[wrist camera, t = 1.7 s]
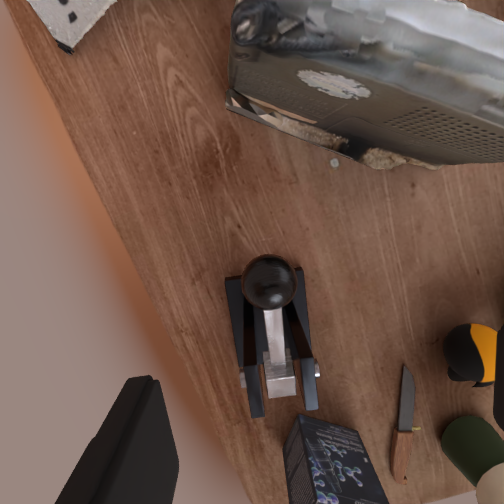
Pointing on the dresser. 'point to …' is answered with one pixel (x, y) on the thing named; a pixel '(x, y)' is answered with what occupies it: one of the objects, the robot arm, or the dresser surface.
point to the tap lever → (273, 317)
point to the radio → (373, 78)
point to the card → (69, 18)
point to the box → (329, 465)
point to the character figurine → (471, 354)
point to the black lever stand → (255, 342)
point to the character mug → (477, 456)
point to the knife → (403, 429)
